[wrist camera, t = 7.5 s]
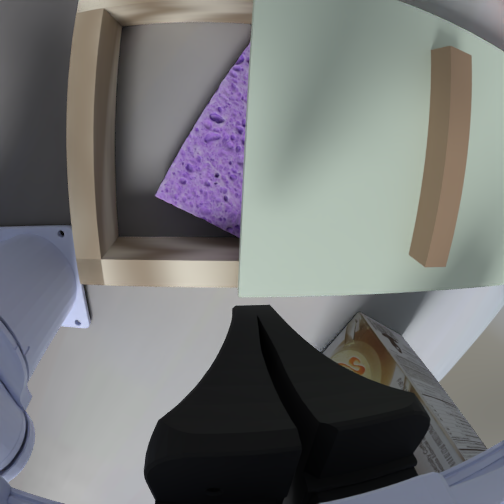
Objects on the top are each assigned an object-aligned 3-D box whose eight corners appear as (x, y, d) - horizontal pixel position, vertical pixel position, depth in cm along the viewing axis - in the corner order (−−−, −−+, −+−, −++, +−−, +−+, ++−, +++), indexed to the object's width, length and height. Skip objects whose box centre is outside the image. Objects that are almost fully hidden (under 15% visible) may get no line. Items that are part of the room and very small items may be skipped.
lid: (237, 290, 18) (241, 315, 15) (255, -25, 11) (262, -48, 9) (499, 280, 20) (519, 294, 18) (529, 73, 14) (553, 74, 12)
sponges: (358, 82, 18) (371, 79, 16) (254, 243, 21) (258, 254, 19) (265, 20, 16) (271, 10, 14) (157, 190, 19) (152, 197, 17)
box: (99, 258, 20) (80, 284, 17) (101, 8, 14) (81, -11, 11) (390, 260, 23) (416, 283, 19) (413, 37, 17) (445, 27, 13)
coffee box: (339, 402, 28) (397, 541, 14) (289, 384, 27) (338, 553, 12) (404, 334, 26) (502, 469, 11) (358, 306, 24) (470, 473, 9)
